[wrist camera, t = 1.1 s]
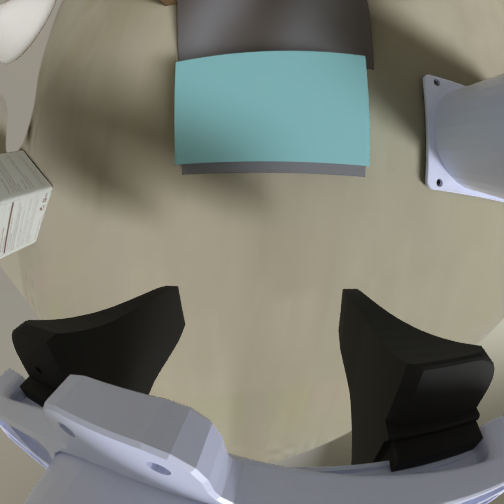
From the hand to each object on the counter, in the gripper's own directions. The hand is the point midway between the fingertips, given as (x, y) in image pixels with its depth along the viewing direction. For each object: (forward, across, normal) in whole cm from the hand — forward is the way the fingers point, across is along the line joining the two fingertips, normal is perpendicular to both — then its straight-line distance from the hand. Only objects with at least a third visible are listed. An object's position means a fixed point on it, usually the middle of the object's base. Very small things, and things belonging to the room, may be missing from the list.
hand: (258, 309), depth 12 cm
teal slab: (+7, 0, -9) cm, 12 cm away
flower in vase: (+8, +27, -28) cm, 40 cm away
